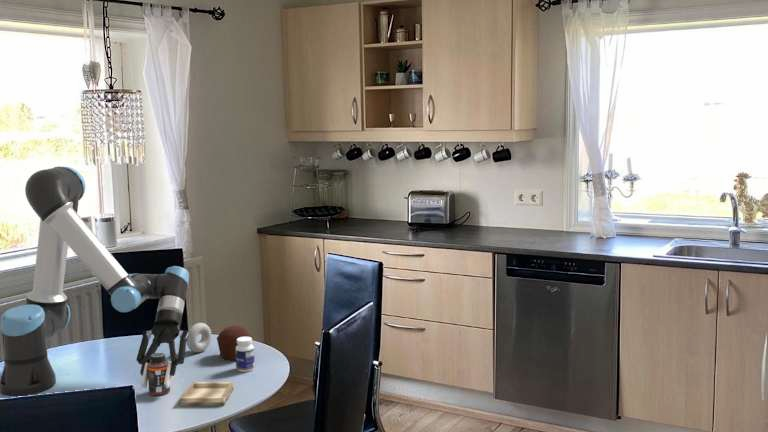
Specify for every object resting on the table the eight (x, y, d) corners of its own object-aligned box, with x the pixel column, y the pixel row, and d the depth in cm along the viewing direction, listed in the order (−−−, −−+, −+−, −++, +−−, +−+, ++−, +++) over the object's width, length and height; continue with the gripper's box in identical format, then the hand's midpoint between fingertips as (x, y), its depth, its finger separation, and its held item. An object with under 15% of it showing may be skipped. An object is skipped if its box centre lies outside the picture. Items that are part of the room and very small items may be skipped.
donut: (207, 347, 259) (206, 318, 257) (214, 348, 257) (213, 320, 255) (184, 355, 251) (183, 326, 249) (191, 357, 249) (190, 327, 247)
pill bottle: (232, 369, 236) (231, 338, 235) (247, 364, 240) (246, 334, 239) (243, 373, 232) (242, 342, 231) (258, 369, 237) (257, 338, 235)
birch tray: (180, 405, 208) (180, 398, 208) (192, 389, 220) (192, 382, 220) (223, 405, 208) (223, 398, 207) (233, 389, 220) (233, 382, 219)
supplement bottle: (164, 396, 215) (162, 358, 213) (145, 395, 216) (142, 357, 214) (174, 389, 220) (172, 351, 219) (155, 387, 222) (153, 350, 220)
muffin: (254, 360, 244) (252, 330, 243) (219, 364, 241) (217, 334, 240) (249, 349, 256) (248, 321, 254) (216, 353, 252) (215, 324, 251)
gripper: (203, 319, 231) (191, 391, 217) (142, 320, 231) (126, 391, 217) (197, 307, 225) (184, 380, 211) (135, 308, 225) (118, 380, 211)
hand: (155, 385), depth 214 cm, fingers closed on supplement bottle, 6 cm apart
